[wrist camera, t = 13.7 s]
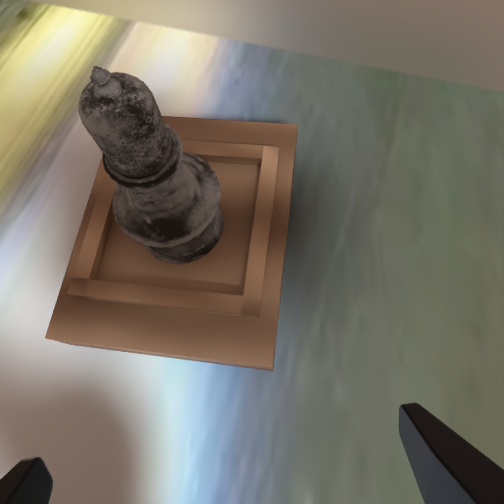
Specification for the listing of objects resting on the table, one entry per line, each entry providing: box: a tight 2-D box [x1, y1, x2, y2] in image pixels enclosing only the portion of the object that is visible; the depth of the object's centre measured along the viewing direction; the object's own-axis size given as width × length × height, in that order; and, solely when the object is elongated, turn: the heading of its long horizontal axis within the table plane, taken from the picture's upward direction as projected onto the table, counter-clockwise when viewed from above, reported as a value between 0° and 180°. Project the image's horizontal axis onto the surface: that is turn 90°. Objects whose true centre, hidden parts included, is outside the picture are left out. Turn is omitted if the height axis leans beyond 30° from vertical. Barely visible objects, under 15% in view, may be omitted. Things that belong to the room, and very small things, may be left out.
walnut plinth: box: [45, 116, 298, 371], centre depth 24 cm, size 16×13×4 cm
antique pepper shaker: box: [78, 66, 224, 264], centre depth 18 cm, size 6×6×12 cm
